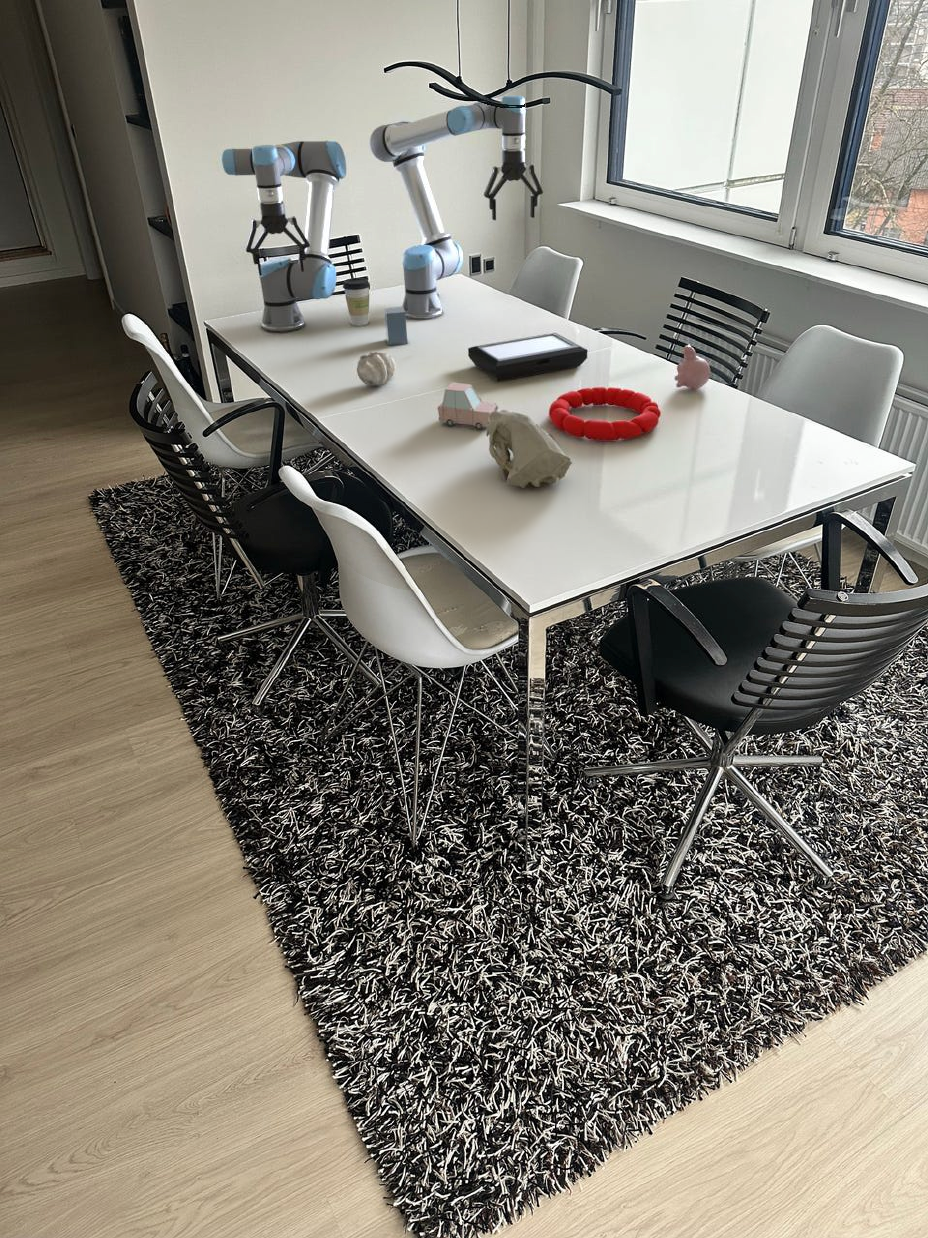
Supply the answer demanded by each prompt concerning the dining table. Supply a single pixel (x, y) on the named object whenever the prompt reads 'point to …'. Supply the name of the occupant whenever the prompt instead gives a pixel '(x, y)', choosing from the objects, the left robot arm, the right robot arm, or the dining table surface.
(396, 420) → the dining table surface
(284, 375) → the dining table surface
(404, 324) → the block
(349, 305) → the coffee cup
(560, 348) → the electronic device
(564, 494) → the dining table surface
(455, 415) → the toy car
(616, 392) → the decorative ring
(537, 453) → the animal skull
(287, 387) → the dining table surface
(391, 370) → the seashell
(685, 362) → the figurine
